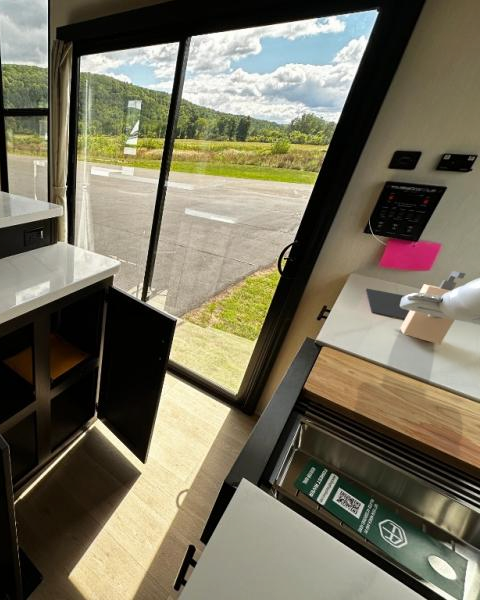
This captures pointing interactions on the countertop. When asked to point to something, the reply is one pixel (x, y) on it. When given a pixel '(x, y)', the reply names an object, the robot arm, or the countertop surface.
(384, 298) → the mat
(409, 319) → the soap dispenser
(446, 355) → the countertop surface
